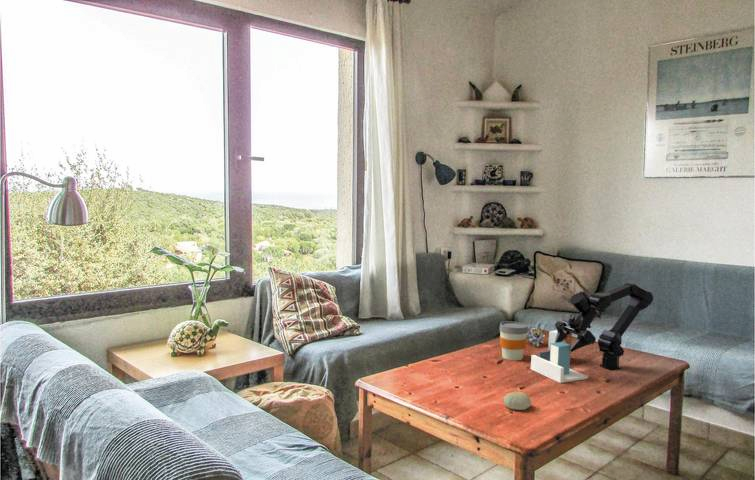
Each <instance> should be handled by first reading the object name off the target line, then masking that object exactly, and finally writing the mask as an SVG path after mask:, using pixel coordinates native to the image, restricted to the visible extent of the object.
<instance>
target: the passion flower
mask: <svg viewBox="0 0 755 480" xmlns="http://www.w3.org/2000/svg"><path fill="white" fill-rule="evenodd" d="M526 337H527V342H529V343H531V345H532V346H533V347H534V346H535V347H536V348H538V347H539V346H540V343H541V344H544V340H543V339H544V338H545V337H546V336H545V334H543V332H542V328H539V327H537V325H535V326H534V325H532V324H530V323H529V324H528V333H527V336H526Z"/></svg>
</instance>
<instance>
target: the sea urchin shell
mask: <svg viewBox="0 0 755 480" xmlns="http://www.w3.org/2000/svg"><path fill="white" fill-rule="evenodd" d="M503 404H504V405H505V406H506V407H507V408H508V409H511V410H514V411H526V410H527V409H529V408H530V407H531V405H532V400H531V397H530V396H528V394H526V393H524V392H522V391H521V392H520V391H514V392H513V391H512V392H509V393H507V394H505V396H504V398H503Z"/></svg>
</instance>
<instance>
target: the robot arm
mask: <svg viewBox="0 0 755 480" xmlns="http://www.w3.org/2000/svg"><path fill="white" fill-rule="evenodd" d="M627 296H629V298H628V299H629V302H628V305H627V307H626V308H625V309H624V310H623V312H622V314H621V315H620V316H619V318H618V319H617V321H616V322H615V323H614V325H613V326H612V327H611V329H609V330H607V329H603V331H602V332H601V334H600V335H599V336H598V339H597V338H596V336H595V335H594V334H593V333H592V332H591V330H588V329H591V328H592V325H591V324H592V323H593V321H594V320H595V318H597V319H601V312H600V311H601V310H602V311H605V310H606V309H607V308H609V307H611V305H612V303H615V302H616V301H618V300H621V299H623V298H626V297H627ZM653 301H654V296H653V293H652V292H651V291H647V290H645V289H644V288H641V287H639V286H638V285H637V284H635V283H632V282H631V283H630V282H626V283H624V284H623V285H620V286H618V287H615V288H613V289H611V290H608V291H605V292H596V293H592V294H590V295H589V296H587V295H586V293H585V292H584V291H582V290H581V291H579V292H577V293H575V294H573V295H572V296H571V297H570V299H569V302H570V304H571V305H572V306H573V307H574V309H575V310H576V311H577V312H578V313H579V314H575V315H572V314H569V313H566V312H565V313H564V314H563V317H562V320H561V321H560V320H557V321H556V322H555V323H554V326H555V330H557V336H556V340H555V343H557V342H562V341H563V340H564V339H565V338H566V337H568V336H567V335H568V334H569V333H572V335H576V336H577V337H576V338H577V339H575V341H574V343H573V344H572V345H571V349H570V351H571V353H572V352H575V351H577V350H579V349H581V348H583V347H586V346H590V345H594V343H595V342H596V339H597V345H598V348H599V352H602V357H601V363H600V364H599V367H602V368H604V369H607V370H609V371H613V370H614V371H615V370H620V369H621V370H622V366H620V357H622V356H624V354H625V350H624V349H623V347H622V346H621V344H622V338H623V335H624V334H625V333H626V330H628V328H629V327H630V325H631V324H632V323H633V321H634V320H635V318H636V317H637V315H638V314H639V312H641V311H642V310H644V309H647V308H648V307H649V306H650V305H651V304H652V302H653ZM597 309H598V310H597ZM599 310H600V311H599Z"/></svg>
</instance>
